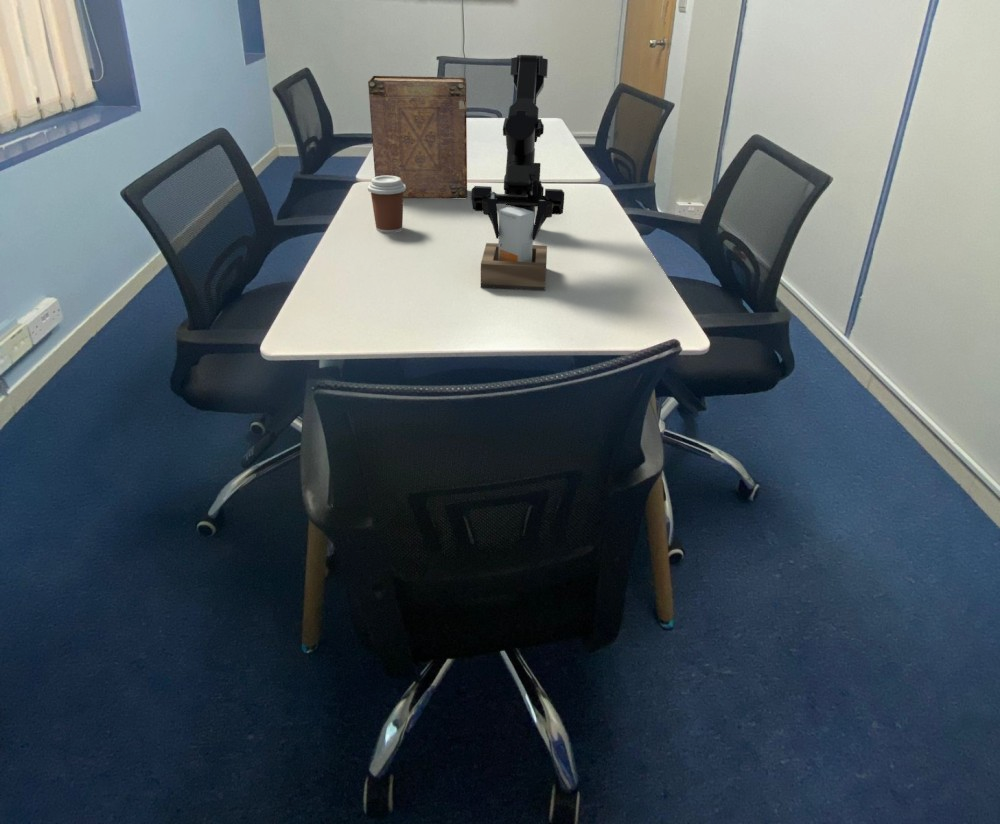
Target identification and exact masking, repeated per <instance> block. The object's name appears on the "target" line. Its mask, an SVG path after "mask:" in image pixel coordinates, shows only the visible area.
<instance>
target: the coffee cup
mask: <svg viewBox="0 0 1000 824" xmlns="http://www.w3.org/2000/svg"><path fill="white" fill-rule="evenodd" d="M370 181H371V182H370V183H369V184H368V185H367V191H368V192H369V193H370V196H371V203H372V209H373V217H374V224H375V230H376V231H377V232H380V233H384V234H385V233H386V234H390V233H397V232H401V231H402V230H403V218H404V216H403V215H404V198H403V192H404V191H405V190H406V186H405V184H403V183H402V182H401V178H399V177H397V176H388V175H386V176H377V177H375V176H374V177H372V179H371V180H370Z"/></svg>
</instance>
